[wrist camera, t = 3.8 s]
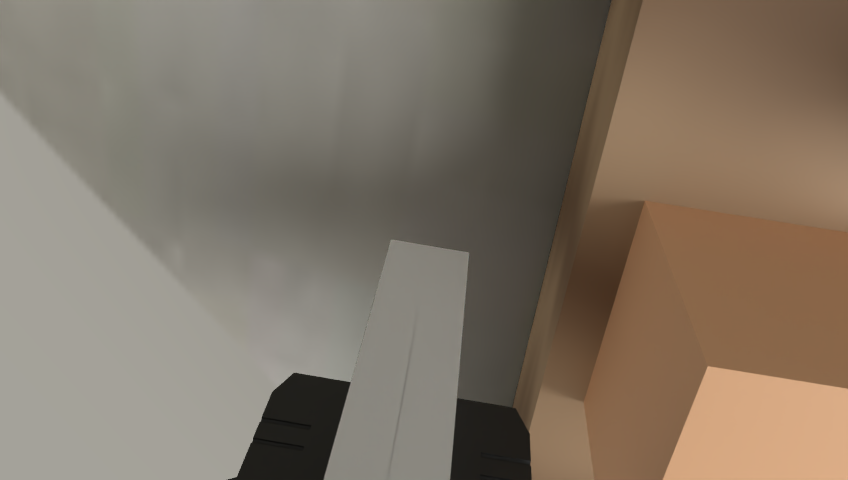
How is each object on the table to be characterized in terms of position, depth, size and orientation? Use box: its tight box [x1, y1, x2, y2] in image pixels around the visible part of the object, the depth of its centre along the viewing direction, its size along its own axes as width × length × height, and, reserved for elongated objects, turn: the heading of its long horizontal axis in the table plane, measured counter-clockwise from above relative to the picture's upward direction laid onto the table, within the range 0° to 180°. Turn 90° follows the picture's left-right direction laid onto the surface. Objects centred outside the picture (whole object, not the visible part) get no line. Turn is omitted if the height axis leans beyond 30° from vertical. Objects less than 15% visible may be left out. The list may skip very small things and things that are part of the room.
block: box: [584, 201, 848, 480], centre depth 13 cm, size 5×5×5 cm
